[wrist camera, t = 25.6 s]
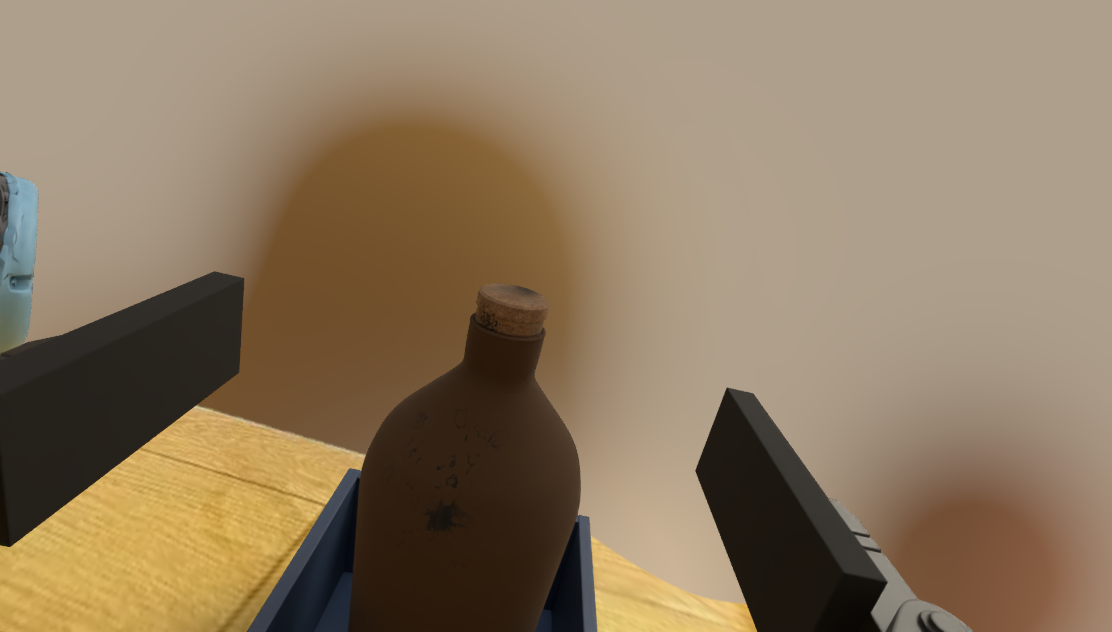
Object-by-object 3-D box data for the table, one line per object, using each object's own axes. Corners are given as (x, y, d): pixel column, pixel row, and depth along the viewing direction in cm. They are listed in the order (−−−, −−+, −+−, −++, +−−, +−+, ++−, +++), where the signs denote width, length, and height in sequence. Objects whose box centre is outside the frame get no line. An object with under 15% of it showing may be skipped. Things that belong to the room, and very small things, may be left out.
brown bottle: (539, 775, 29) (680, 355, 22) (325, 833, 25) (404, 335, 17) (490, 609, 39) (577, 271, 31) (327, 631, 34) (379, 244, 26)
